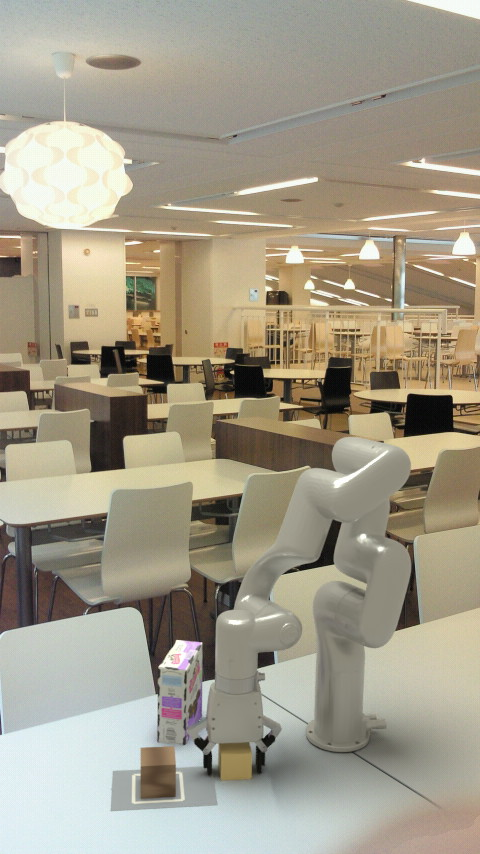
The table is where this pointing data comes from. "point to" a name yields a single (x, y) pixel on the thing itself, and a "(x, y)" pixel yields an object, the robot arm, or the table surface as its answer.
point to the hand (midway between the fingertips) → (233, 769)
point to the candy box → (179, 692)
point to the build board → (190, 792)
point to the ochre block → (235, 761)
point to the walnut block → (158, 772)
